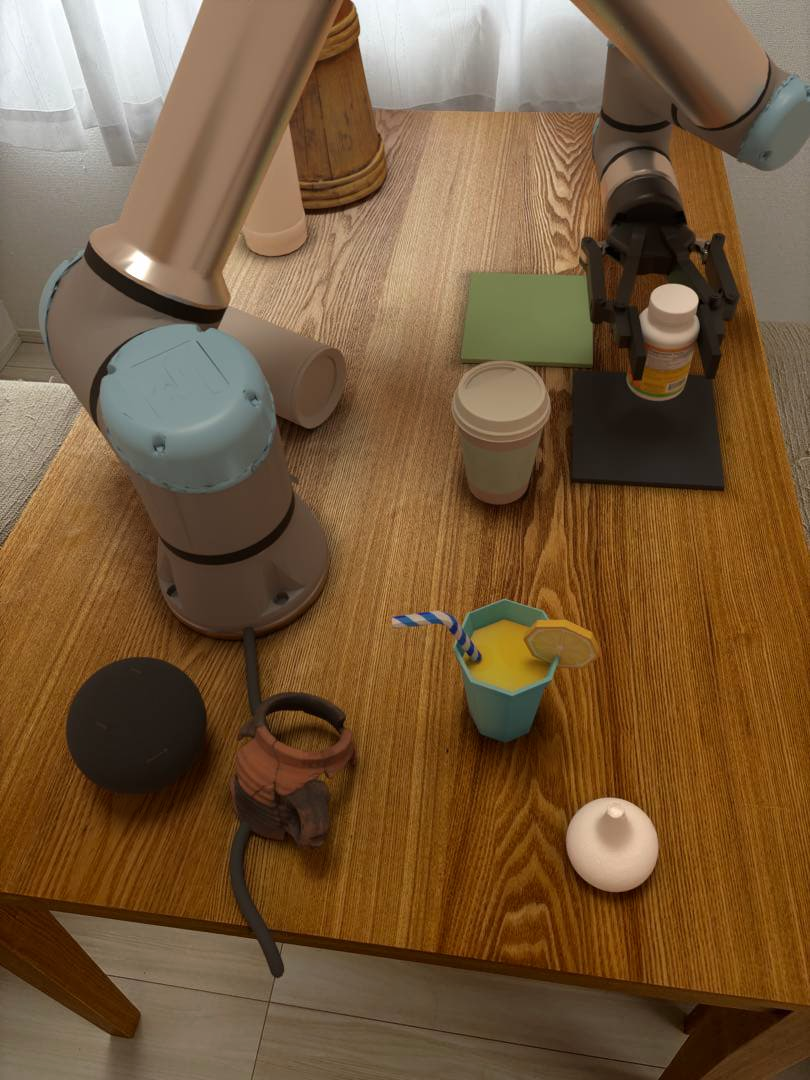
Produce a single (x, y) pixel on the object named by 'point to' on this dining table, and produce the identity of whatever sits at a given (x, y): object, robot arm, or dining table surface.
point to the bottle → (277, 207)
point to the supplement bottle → (667, 342)
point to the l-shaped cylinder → (291, 367)
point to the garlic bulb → (612, 844)
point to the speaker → (136, 725)
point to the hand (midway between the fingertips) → (676, 367)
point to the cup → (509, 660)
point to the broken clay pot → (288, 773)
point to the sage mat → (528, 320)
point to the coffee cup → (500, 427)
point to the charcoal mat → (644, 434)
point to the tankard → (337, 123)
